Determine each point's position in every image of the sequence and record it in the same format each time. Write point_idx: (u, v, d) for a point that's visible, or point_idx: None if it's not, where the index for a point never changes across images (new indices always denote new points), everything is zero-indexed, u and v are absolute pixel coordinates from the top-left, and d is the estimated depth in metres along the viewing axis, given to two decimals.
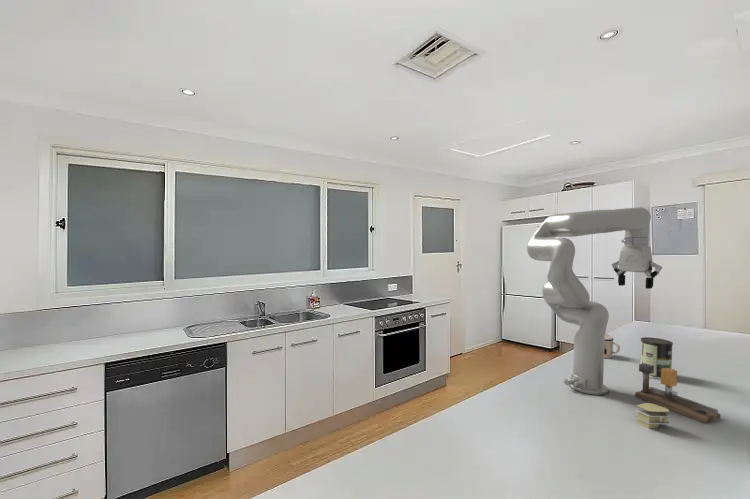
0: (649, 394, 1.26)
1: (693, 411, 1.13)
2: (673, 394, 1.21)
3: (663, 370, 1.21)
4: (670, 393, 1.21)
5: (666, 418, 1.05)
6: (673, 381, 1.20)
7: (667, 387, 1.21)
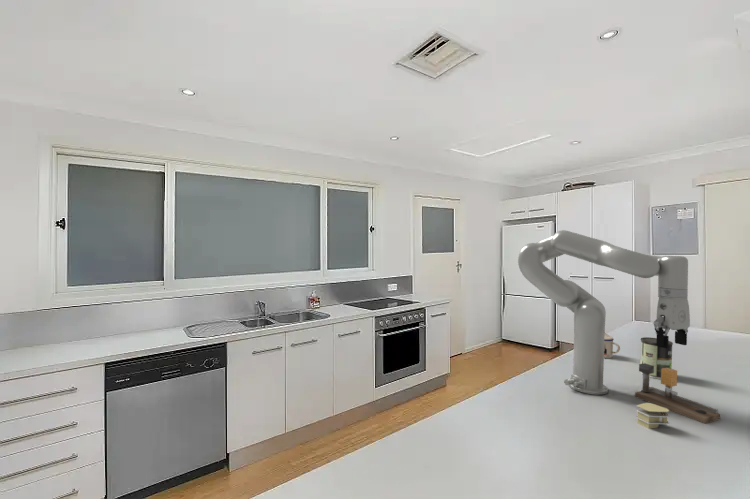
0: (649, 394, 1.26)
1: (693, 411, 1.13)
2: (673, 394, 1.21)
3: (663, 370, 1.21)
4: (670, 393, 1.21)
5: (666, 418, 1.05)
6: (673, 381, 1.20)
7: (667, 387, 1.21)
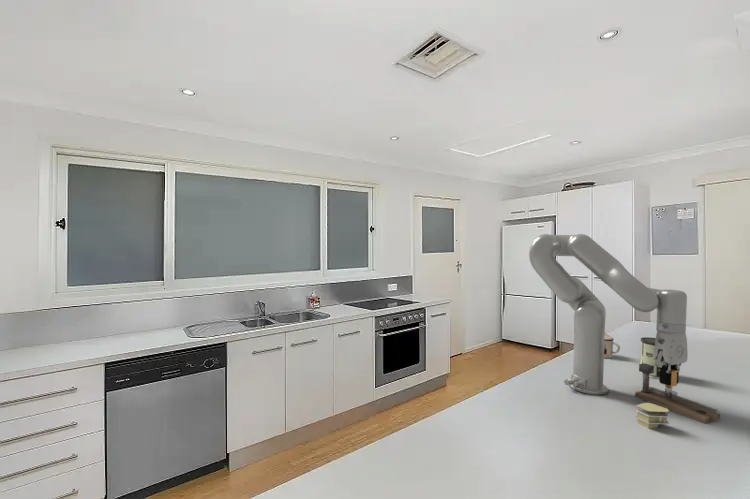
0: (649, 394, 1.26)
1: (693, 411, 1.13)
2: (673, 394, 1.21)
3: None
4: (670, 393, 1.21)
5: (665, 418, 1.05)
6: (673, 381, 1.20)
7: (667, 387, 1.21)
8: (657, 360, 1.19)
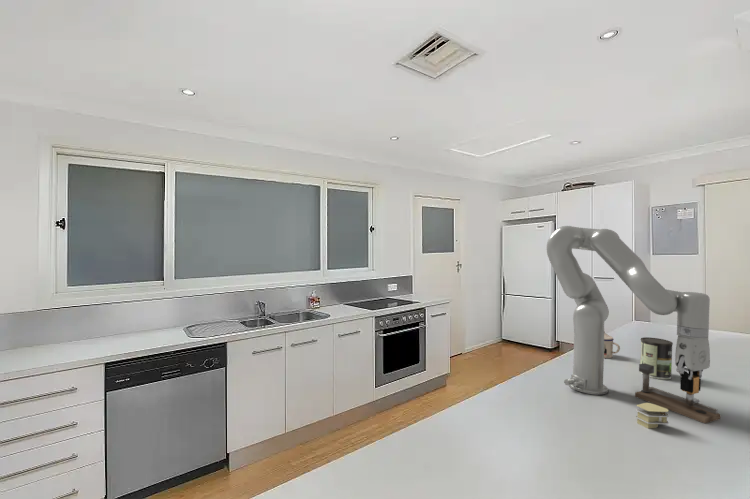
0: (649, 394, 1.26)
1: (693, 411, 1.13)
2: (695, 402, 1.16)
3: None
4: (692, 400, 1.15)
5: (665, 418, 1.05)
6: (695, 388, 1.14)
7: (688, 394, 1.15)
8: (678, 366, 1.13)
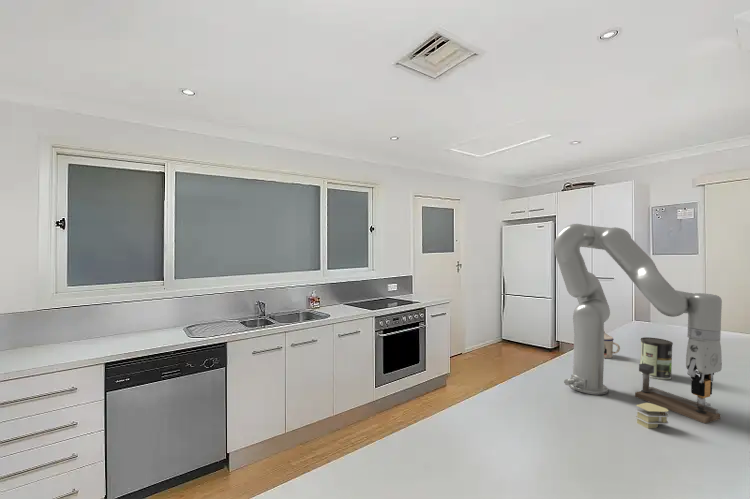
0: (649, 394, 1.26)
1: (693, 411, 1.13)
2: (706, 405, 1.13)
3: None
4: (703, 404, 1.12)
5: (665, 418, 1.05)
6: (706, 392, 1.12)
7: (700, 398, 1.13)
8: (689, 369, 1.11)
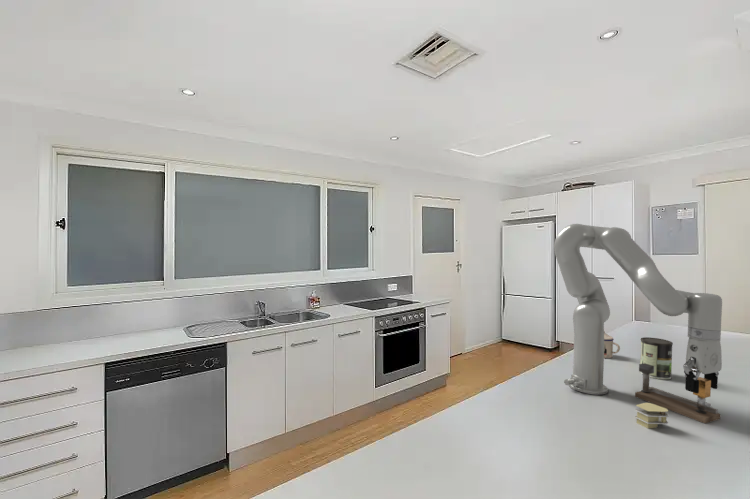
0: (649, 394, 1.26)
1: (693, 411, 1.13)
2: (706, 405, 1.13)
3: None
4: (703, 404, 1.12)
5: (665, 418, 1.05)
6: (707, 392, 1.11)
7: (700, 398, 1.13)
8: (687, 363, 1.10)
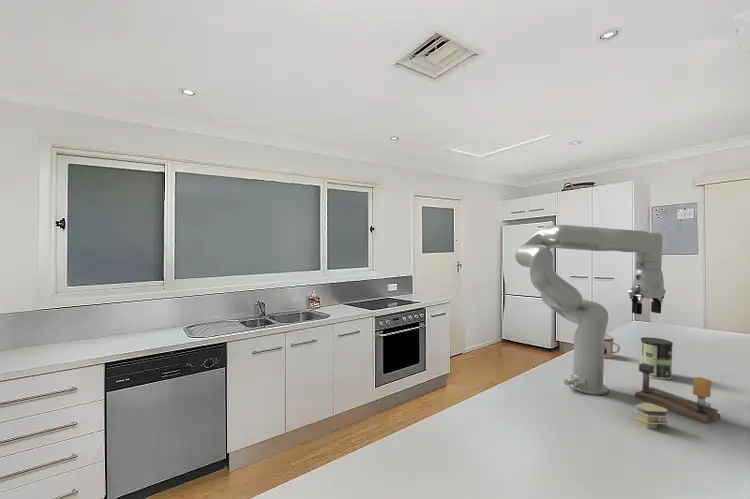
0: (649, 394, 1.26)
1: (693, 411, 1.13)
2: (706, 405, 1.13)
3: (695, 380, 1.13)
4: (703, 404, 1.12)
5: (665, 418, 1.05)
6: (707, 392, 1.11)
7: (700, 398, 1.13)
8: (631, 289, 1.33)
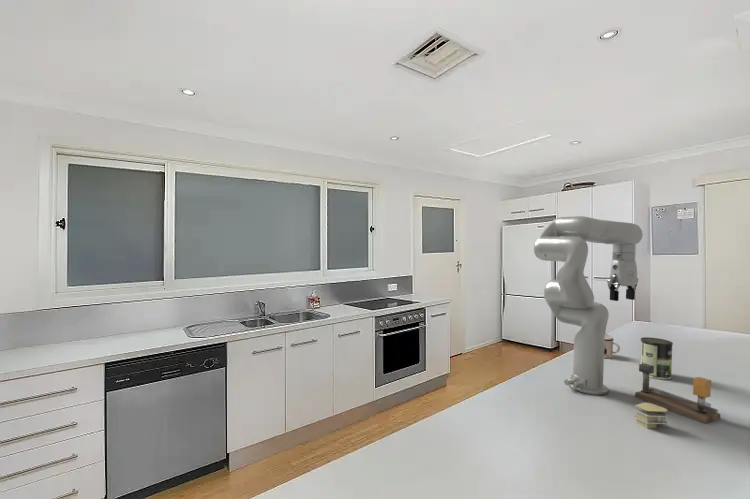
0: (649, 394, 1.26)
1: (693, 411, 1.13)
2: (706, 405, 1.13)
3: (695, 380, 1.13)
4: (703, 404, 1.12)
5: (664, 418, 1.05)
6: (707, 392, 1.11)
7: (700, 398, 1.13)
8: (609, 278, 1.45)
